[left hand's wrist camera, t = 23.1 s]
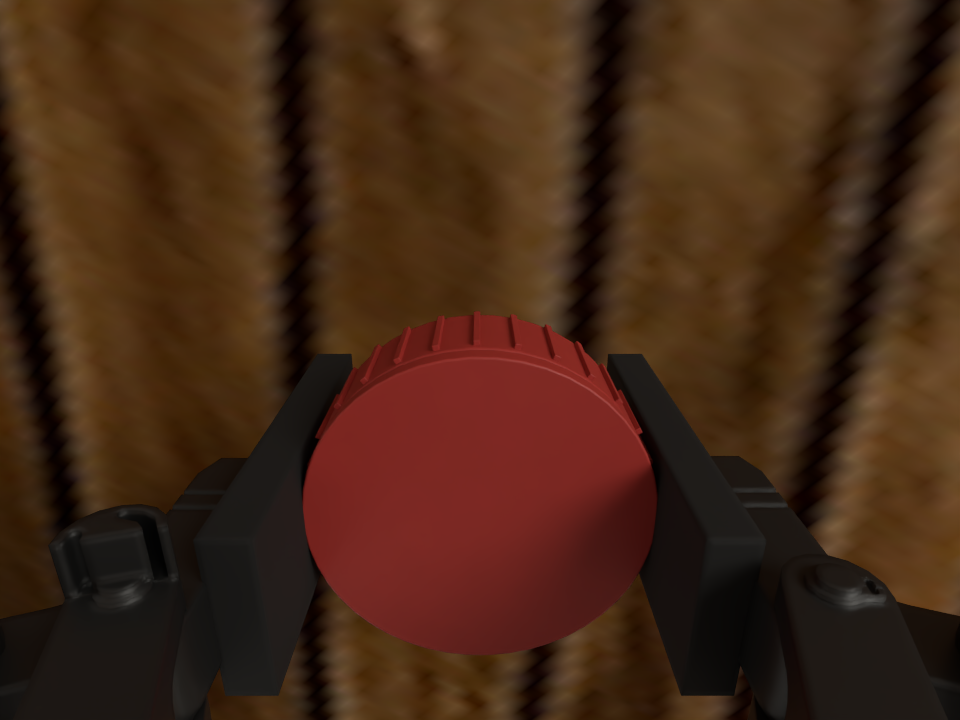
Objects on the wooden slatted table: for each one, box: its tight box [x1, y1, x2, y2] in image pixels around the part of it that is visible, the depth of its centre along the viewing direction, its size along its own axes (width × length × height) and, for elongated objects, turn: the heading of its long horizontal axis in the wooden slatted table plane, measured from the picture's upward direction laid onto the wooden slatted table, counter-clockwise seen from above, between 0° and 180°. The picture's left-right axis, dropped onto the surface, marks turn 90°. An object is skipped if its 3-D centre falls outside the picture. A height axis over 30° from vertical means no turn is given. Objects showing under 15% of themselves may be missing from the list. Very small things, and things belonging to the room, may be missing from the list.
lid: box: [302, 312, 658, 655], centre depth 11 cm, size 6×6×2 cm
